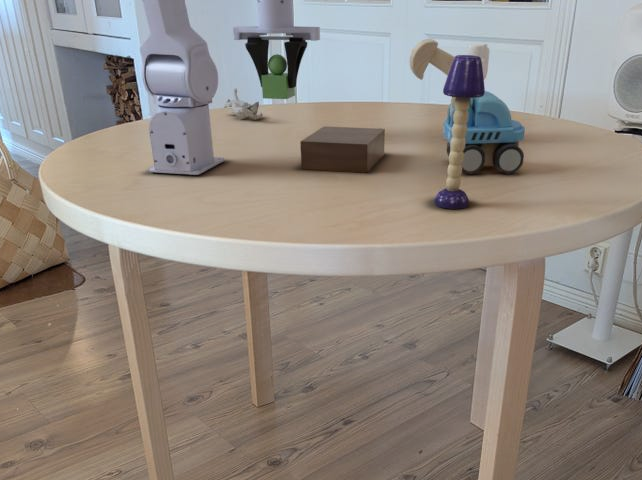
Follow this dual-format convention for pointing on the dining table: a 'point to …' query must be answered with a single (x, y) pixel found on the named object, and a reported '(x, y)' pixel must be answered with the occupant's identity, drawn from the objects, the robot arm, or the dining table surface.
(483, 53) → the figurine
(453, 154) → the toy lamp
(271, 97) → the green toy
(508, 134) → the toy excavator
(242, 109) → the toy cat
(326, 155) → the walnut block
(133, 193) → the dining table surface
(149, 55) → the robot arm
